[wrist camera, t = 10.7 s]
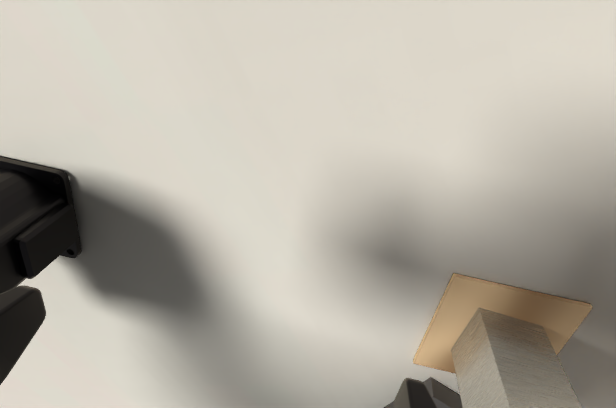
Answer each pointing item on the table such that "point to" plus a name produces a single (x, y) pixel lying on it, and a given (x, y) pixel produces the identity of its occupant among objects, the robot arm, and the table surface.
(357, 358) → the table surface
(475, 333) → the gray block
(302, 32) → the table surface
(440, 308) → the cork pad
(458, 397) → the dark gray slotted board
